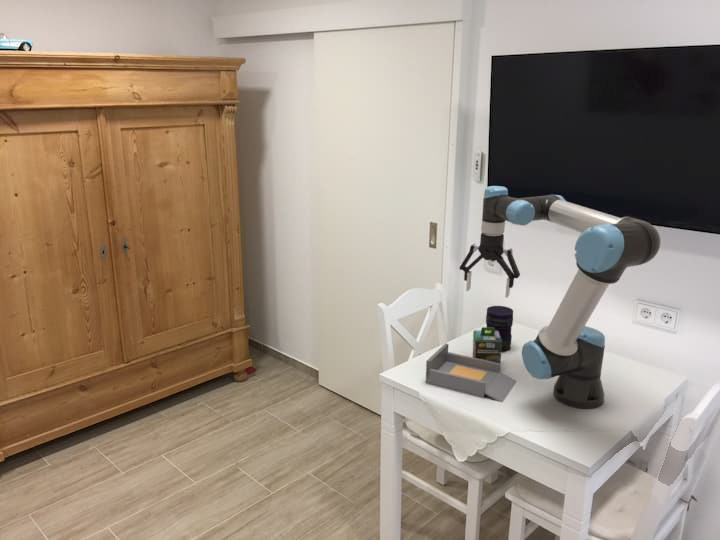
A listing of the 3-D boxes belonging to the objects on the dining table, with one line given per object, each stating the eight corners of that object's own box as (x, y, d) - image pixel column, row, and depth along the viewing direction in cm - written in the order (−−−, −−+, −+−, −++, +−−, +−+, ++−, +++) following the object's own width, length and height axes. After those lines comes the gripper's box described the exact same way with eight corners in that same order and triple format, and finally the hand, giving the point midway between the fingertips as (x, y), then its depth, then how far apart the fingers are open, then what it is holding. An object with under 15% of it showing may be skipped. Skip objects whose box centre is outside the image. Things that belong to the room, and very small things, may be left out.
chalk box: (497, 359, 214) (499, 321, 210) (500, 371, 206) (503, 331, 201) (471, 358, 215) (473, 320, 211) (473, 370, 206) (475, 330, 202)
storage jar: (481, 349, 222) (484, 312, 218) (486, 340, 231) (489, 304, 227) (508, 354, 219) (511, 316, 214) (512, 344, 227) (515, 307, 223)
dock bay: (516, 382, 199) (518, 359, 196) (502, 403, 185) (504, 379, 183) (444, 365, 211) (445, 343, 209) (425, 384, 197) (426, 361, 195)
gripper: (532, 235, 194) (526, 295, 201) (459, 226, 205) (455, 283, 211) (528, 240, 188) (521, 302, 195) (452, 231, 198) (449, 290, 205)
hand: (487, 292), depth 203 cm, fingers open, 13 cm apart
